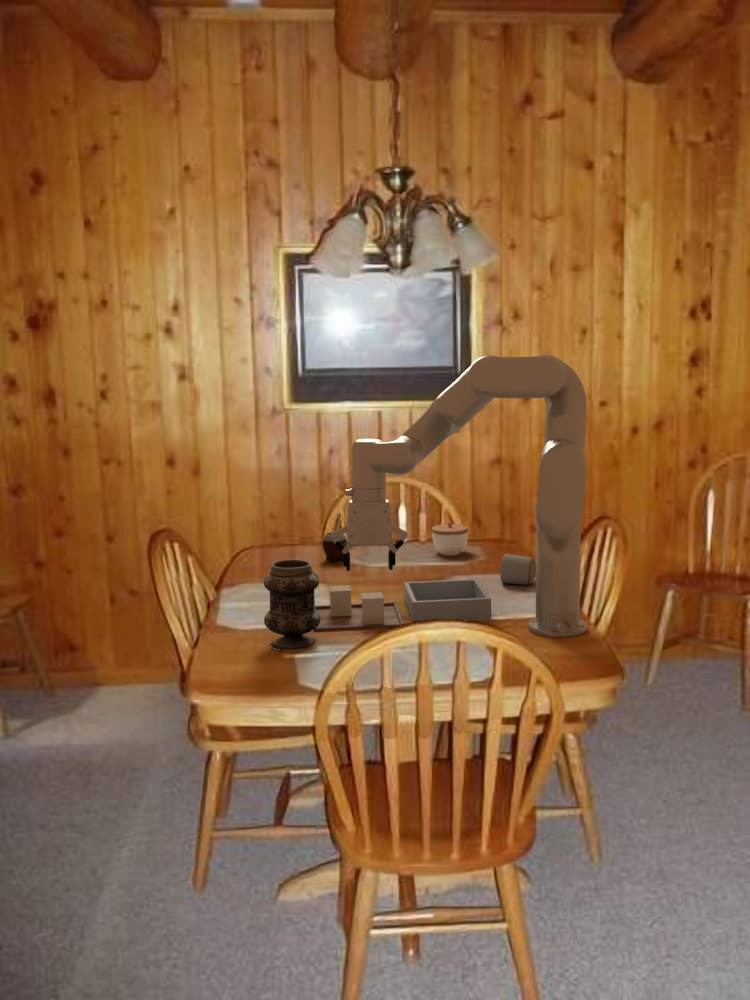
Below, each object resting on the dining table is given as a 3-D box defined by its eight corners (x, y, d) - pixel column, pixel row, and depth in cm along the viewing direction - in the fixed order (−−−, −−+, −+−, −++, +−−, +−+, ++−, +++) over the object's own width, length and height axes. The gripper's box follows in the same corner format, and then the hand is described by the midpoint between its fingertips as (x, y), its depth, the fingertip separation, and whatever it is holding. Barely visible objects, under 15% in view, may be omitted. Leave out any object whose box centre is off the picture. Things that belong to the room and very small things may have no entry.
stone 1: (351, 615, 228) (350, 590, 227) (331, 616, 227) (330, 591, 226) (350, 609, 232) (349, 585, 231) (330, 610, 232) (329, 586, 231)
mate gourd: (330, 557, 289) (328, 507, 286) (354, 559, 286) (352, 509, 283) (318, 563, 282) (316, 512, 280) (342, 565, 279) (340, 513, 276)
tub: (491, 619, 223) (491, 598, 223) (413, 623, 222) (412, 602, 221) (477, 598, 241) (477, 579, 240) (404, 602, 240) (404, 582, 239)
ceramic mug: (531, 588, 249) (531, 558, 248) (499, 586, 252) (499, 557, 251) (538, 578, 259) (539, 550, 258) (508, 577, 262) (508, 548, 261)
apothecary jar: (333, 643, 210) (330, 561, 207) (292, 658, 201) (289, 573, 198) (294, 632, 218) (291, 554, 215) (253, 646, 209) (249, 564, 206)
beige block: (384, 623, 221) (383, 597, 220) (363, 624, 220) (362, 598, 219) (382, 617, 225) (381, 592, 224) (361, 618, 225) (361, 593, 224)
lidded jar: (428, 550, 295) (427, 520, 293) (462, 548, 296) (462, 517, 295) (437, 558, 284) (436, 526, 283) (472, 556, 286) (472, 524, 284)
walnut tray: (403, 629, 218) (403, 624, 218) (314, 633, 217) (314, 628, 216) (396, 607, 236) (395, 602, 236) (313, 610, 234) (312, 606, 234)
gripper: (330, 498, 214) (331, 574, 217) (409, 496, 215) (409, 572, 218) (329, 492, 221) (330, 566, 224) (405, 491, 222) (405, 564, 225)
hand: (369, 569), depth 221 cm, fingers open, 9 cm apart
